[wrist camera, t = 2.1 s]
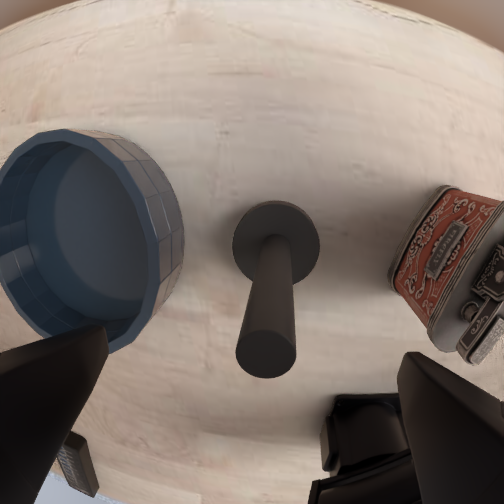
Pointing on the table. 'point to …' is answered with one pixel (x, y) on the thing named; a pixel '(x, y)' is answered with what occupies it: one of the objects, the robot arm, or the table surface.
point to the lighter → (455, 271)
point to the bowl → (87, 234)
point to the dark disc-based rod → (272, 283)
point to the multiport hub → (78, 465)
